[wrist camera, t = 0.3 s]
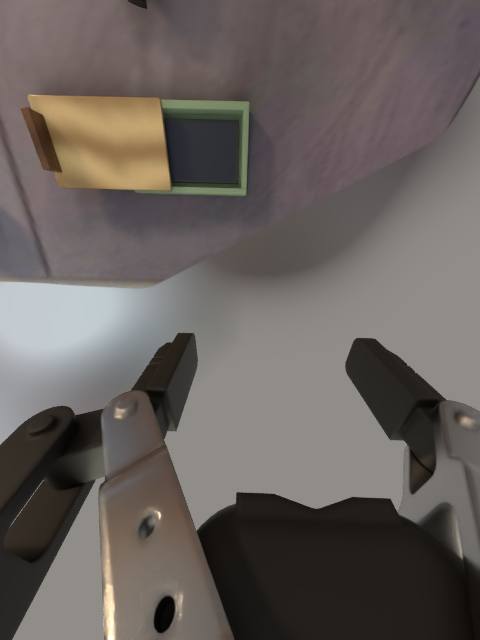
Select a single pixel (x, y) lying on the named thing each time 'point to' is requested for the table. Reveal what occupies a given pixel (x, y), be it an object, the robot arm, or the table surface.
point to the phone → (203, 150)
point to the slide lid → (101, 141)
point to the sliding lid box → (211, 111)
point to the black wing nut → (139, 3)
